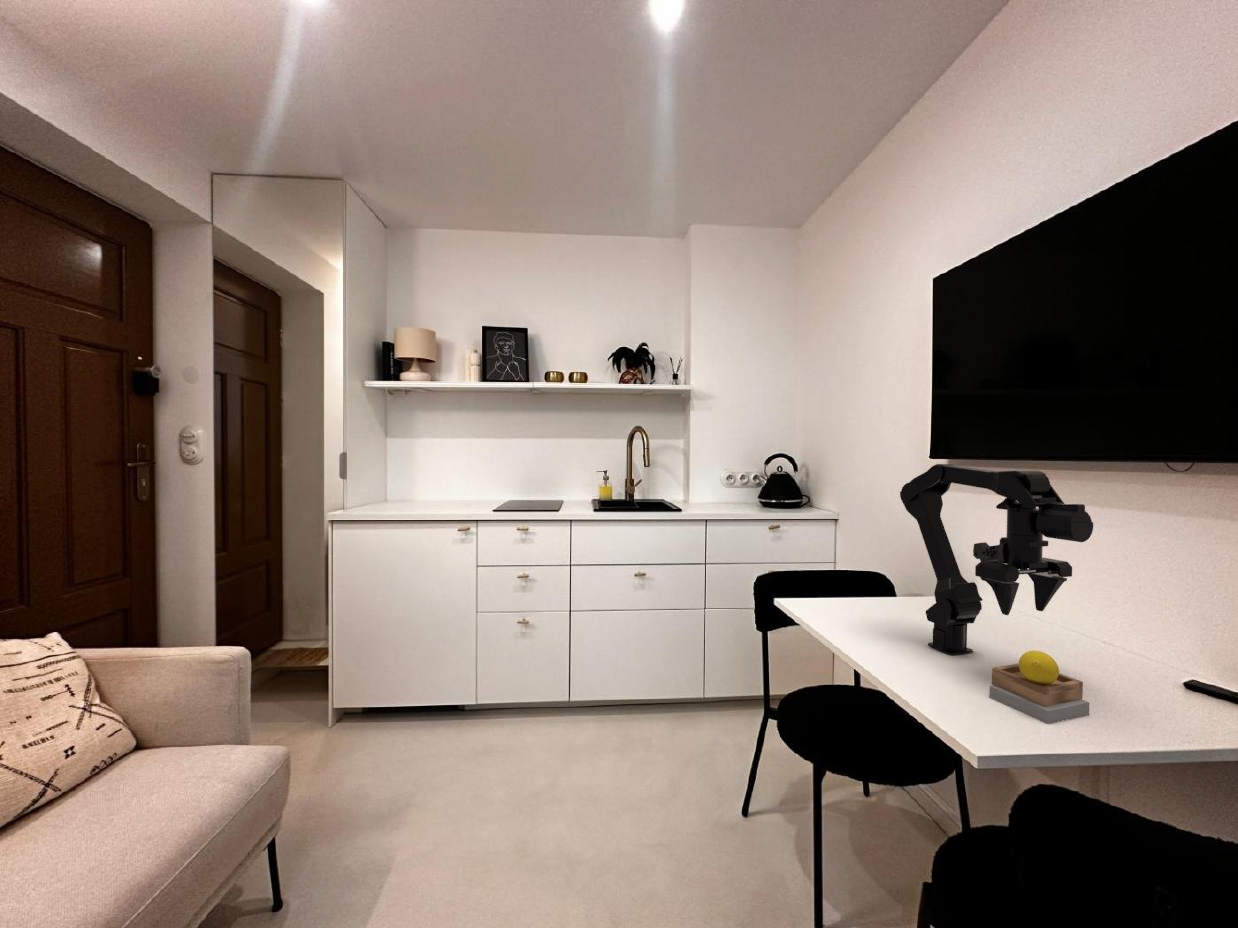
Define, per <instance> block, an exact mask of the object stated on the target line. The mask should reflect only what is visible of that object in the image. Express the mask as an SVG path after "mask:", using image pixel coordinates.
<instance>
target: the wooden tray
mask: <svg viewBox="0 0 1238 928" xmlns="http://www.w3.org/2000/svg"><path fill="white" fill-rule="evenodd" d="M991 685H995V686H997V687H1000V688H1002V689H1004V690H1007V691H1009V692H1011V693H1014V694H1016V695H1018V696H1021V697H1023V698H1025V699H1028V700H1030V701H1032V702H1035V703H1037V704H1039V705H1042V706H1044V707H1048V706H1052V705H1057V704H1061V703H1066V702H1071V701H1075V700H1080V699H1082V700H1083V697H1084V696H1083V695H1084V694H1083V693H1084V692H1083V691H1084V687H1083V686H1084V682H1083V681H1081V680H1078V679H1076V678H1073V677H1071V676H1067V675H1066V674H1065V675H1064V674H1062V673H1060V672H1059V676H1058V678H1057V679H1056V680H1055V681H1054V682H1053V683H1051V684H1048V685H1039V684H1036V683H1034V682H1031V681H1029V680H1028V679H1026V678H1025V677H1024V676H1023V675H1022V673H1021V671H1020V669H1019V662H1018V663H1014V664H1007V665H1001V666H998V667H997V666H995V667H992V668H991Z"/></svg>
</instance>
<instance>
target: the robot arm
mask: <svg viewBox="0 0 1238 928" xmlns="http://www.w3.org/2000/svg"><path fill="white" fill-rule="evenodd" d="M952 484H957V485H963V486H969V487H975V488H979V489H986V490H989V491H991V492H993V493H994V494H996V495H999V496H1002V497H1005V498H1004V499H1003V500H1002V501H1001V502H1000V503H998V504H997V505H996V506H995V508H996V509H998V510H1004V511H1005V510H1006V536H1005V537H1004V536H1003V537H1002V536H1001V537H1000V539H999V544H997V545H995V544H994V545H989V544H988V543H987V542H986V541H985V542H977V543H973V549H972V550H973V551H972V552H973V557H974V559H976V560H979V562H978V563H977V564H976V565H975V567H974V568H975V570H974V571H975V573H974V575H975V577H978V578H980V579H981V581H984V582H985V583H987V584H988V585H989V586H990V587H991V589H992V591H993V593H994V596H995V598H996V601H997V604H998V606H999V608H1000V612H1001V614H1002V615H1004V616H1009V615H1010V613H1011V610H1012V607H1013V605H1014V602H1015V598H1016V595H1017V592H1018V589H1019V586H1020V582H1017V580H1018V579H1019V578H1020V575H1028V576H1029V578H1030V579H1031V581H1032V582H1033V593H1034V605H1035V610H1036V611H1038V612H1044V611H1045V608H1046V607H1047V606H1048V605H1049V603H1050V602H1051V601H1052V599H1053V598H1054V595H1056V593H1057V591H1058V590H1059V589H1060V588H1061V586H1062V585H1063V584H1064V582H1067V581H1068V578H1070V577H1073V566H1072V565H1071V564H1070V563H1069V562H1068V561H1066V560H1059V559H1053V558H1049V557H1043V550H1044V549H1043V547H1049V540H1044V537H1046V538H1048V539H1049V538H1050V539H1055V540H1056V539H1057V540H1061V541H1062V540H1063V541H1070V542H1077V543H1085V542H1086V541H1088V540H1089V539H1090V537H1091V536H1092V534H1093V531H1094V522H1093V521H1092V517H1091V515H1090V514H1089V513H1088V512H1087V511H1086V505H1085V504H1084V503H1083V504H1081V503H1065V502H1064V500H1062V498H1061V497H1060V496H1059V494H1058V493H1057V491H1056V490H1055V489H1054V487H1053V486H1052V485H1051V481H1050V479H1049V477H1048V476H1047V474H1046V472H1043V471H1040V470H1002V471H997V470H989V469H982V468H981V469H980V468H977V467H976V468H974V467H967V466H961V465H960V466H959V465H954V464H952V463H936V464H934V465H933V466H932V465H931V467H930V468H929V469H928V470H927V471H925V472H923V473H921V474H920V475H917V476H915V477H914V478H913V479H911V480H910V481H909V482H907V483H905V484H904V485H902V488H901V491H900V492H899V495H900V496H899V497H900V500H901V502H902V504H903V506H904V508H905V509H906V512H908V514H910V516H911V517H913V518H914V519H915V521H916V522H917V524H918V527H919V530H920V534H921V536H922V537H921V538H922V539H923V542H924V545H925V548H926V551H927V555H928V556H929V560H930V563H931V566H932V570H933V572H934V574H935V577H936V585H935V588H934V594H933V595H934V599H935V603H934V604H932V605H931V606H930V607H929V608H927V609H926V610H925V615H926V619H927V621H928V622H931V623H933V628H932V641H931V642H928V643H927V646H929V647H931V648H934V649H936V650H938V651H941V652H943V653H945V654H947V655H950V656H955V655H961V654H969V653H973V652H974V649H972V648H969V647H968V646H967V645H968V642H967V641H968V624H974V623H975V621H976V619H977V616H978V615H979V614H980V613H981V611H982V608H983V606H982V601H983V598H982V596H980V593H979V589H978V585H977V584H976V582H975V581H972V582H968V581H967V580H966V579H965V578H964V577H963V576H962V573H961V571H960V568H959V565H958V562H957V559H956V557H955V553H954V551H953V549H952V546H951V543H950V540H949V537H948V534H947V531H946V528H945V525H944V523H943V520H942V518H941V514H942V510H943V505H944V503H943V498H942V496H944V495H945V494H946V493H947V492H948V491H949V489H950V487H951V485H952Z"/></svg>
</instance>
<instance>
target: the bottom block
mask: <svg viewBox="0 0 1238 928" xmlns="http://www.w3.org/2000/svg"><path fill="white" fill-rule="evenodd" d="M988 693H989V697H988V698H990V699H992V700H995V702H996V701H997V703H998V702H999V703H1001V704H1003V705H1005V706H1007V707H1010V708H1012V709H1014V710H1016V711H1018V712H1020V713H1023V714H1025V715H1028V716H1029V717H1031V718H1034V719H1036V720H1038V719H1039V720H1038V721H1040V722H1043V723H1045V724H1047V725H1049V724H1054V722H1055V723H1058V721H1059V722H1063V721H1062V720H1064V721H1067V720H1066V719H1069V720H1074V719H1077V717H1078V718H1082V717H1087V716H1089V715H1090V702H1089V701H1087V700H1084V699H1083V698H1082V699H1080V700H1075V701H1071V702H1066V703H1061V704H1057V705H1052V706H1048V707H1044V706H1042V705H1039V704H1037V703H1035V702H1032V701H1030V700H1028V699H1025V698H1023V697H1021V696H1018V695H1016V694H1014V693H1011V692H1009V691H1007V690H1004V689H1002V688H1000V687H997V686H995V685H992V684H990V685H989V691H988ZM1086 715H1087V716H1086Z"/></svg>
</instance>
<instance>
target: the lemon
mask: <svg viewBox="0 0 1238 928" xmlns="http://www.w3.org/2000/svg"><path fill="white" fill-rule="evenodd" d="M1018 663H1019V669H1020V671H1021V673H1022V675H1023V676H1024V677H1025V678H1026V679H1028V680H1029V681H1031V682H1034V683H1036V684H1039V685H1048V684H1051V683H1053V682H1054V681H1055V680H1056V679H1057V678H1058V676H1059V673H1060V669H1059V665H1058V663H1057V661H1055V659H1054V658H1053V657H1052V656H1051V655H1049V654H1048V653H1046V652H1044V651H1040V650H1029V651H1025V652H1024V653H1023V654H1022V655H1021V656H1020V657H1019V659H1018Z"/></svg>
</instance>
